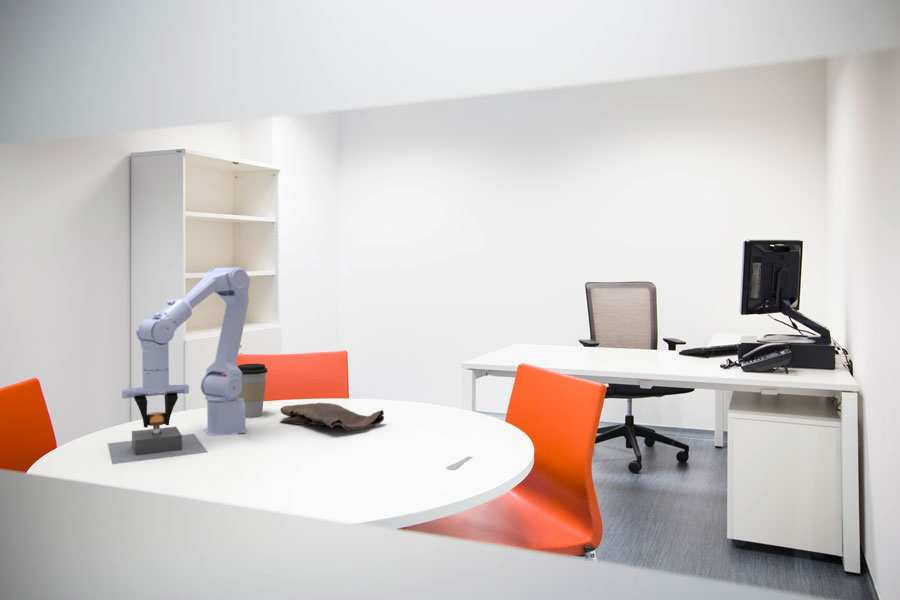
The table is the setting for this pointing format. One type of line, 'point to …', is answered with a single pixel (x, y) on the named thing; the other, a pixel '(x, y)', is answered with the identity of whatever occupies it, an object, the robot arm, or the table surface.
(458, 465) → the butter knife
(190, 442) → the board
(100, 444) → the table surface
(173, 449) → the block
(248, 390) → the coffee cup
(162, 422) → the plunger
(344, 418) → the folded brown cloth
